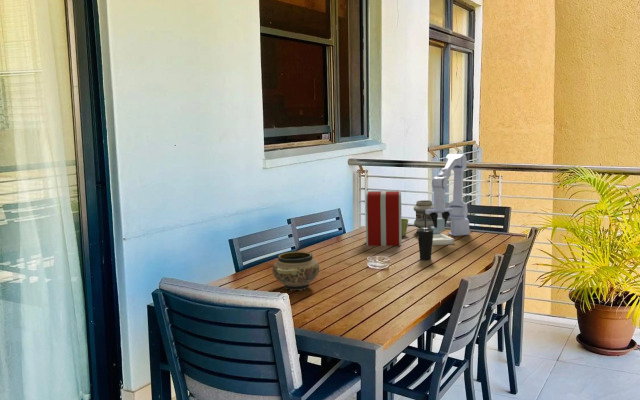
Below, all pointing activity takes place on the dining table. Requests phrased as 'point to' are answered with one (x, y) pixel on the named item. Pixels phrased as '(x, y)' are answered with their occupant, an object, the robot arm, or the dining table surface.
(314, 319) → the dining table surface
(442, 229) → the block
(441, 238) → the tray
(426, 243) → the drinking cup
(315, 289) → the dining table surface
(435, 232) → the block
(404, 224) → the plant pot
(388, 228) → the red striped block
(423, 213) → the apothecary jar
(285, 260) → the ceramic bowl
